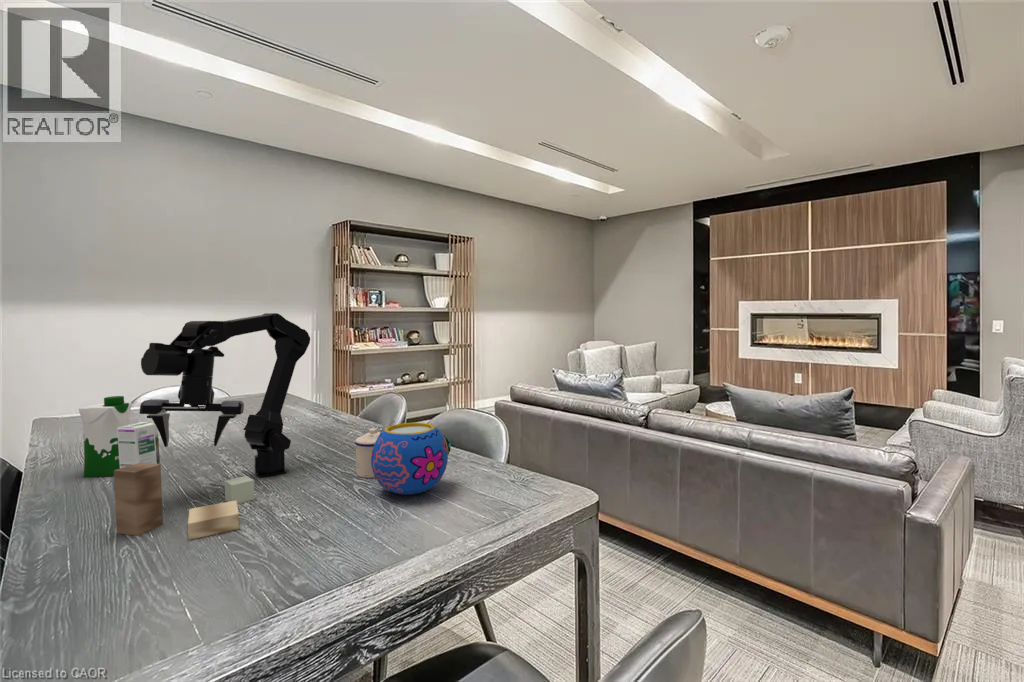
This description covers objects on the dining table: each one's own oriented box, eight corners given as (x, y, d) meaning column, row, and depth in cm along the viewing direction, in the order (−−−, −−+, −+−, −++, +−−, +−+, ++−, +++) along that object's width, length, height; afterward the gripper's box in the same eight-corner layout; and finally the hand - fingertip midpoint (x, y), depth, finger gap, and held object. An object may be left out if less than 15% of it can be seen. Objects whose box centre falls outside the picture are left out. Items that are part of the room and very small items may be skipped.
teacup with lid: (398, 471, 124) (398, 427, 123) (370, 481, 116) (369, 434, 116) (370, 463, 131) (369, 422, 130) (341, 472, 123) (340, 428, 123)
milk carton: (114, 477, 120) (110, 399, 119) (76, 478, 119) (72, 400, 118) (138, 466, 128) (135, 394, 127) (103, 467, 128) (100, 395, 127)
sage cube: (247, 494, 108) (246, 475, 108) (254, 499, 105) (253, 479, 105) (225, 500, 104) (224, 480, 104) (232, 505, 101) (231, 485, 101)
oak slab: (236, 514, 97) (236, 500, 96) (239, 528, 90) (238, 513, 90) (189, 523, 92) (189, 508, 92) (188, 539, 86) (188, 523, 85)
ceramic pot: (462, 483, 114) (462, 423, 114) (418, 511, 98) (417, 440, 97) (404, 474, 122) (403, 417, 121) (355, 497, 105) (353, 432, 105)
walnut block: (143, 521, 93) (140, 462, 93) (162, 524, 92) (160, 464, 92) (116, 532, 89) (113, 470, 88) (137, 535, 87) (134, 472, 87)
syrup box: (139, 486, 113) (136, 427, 112) (119, 485, 114) (116, 426, 113) (161, 478, 119) (158, 422, 118) (142, 477, 120) (139, 421, 119)
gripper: (248, 376, 116) (243, 440, 115) (157, 373, 109) (150, 441, 108) (243, 378, 106) (237, 447, 105) (142, 374, 99) (134, 449, 98)
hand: (191, 446), depth 104 cm, fingers open, 9 cm apart
